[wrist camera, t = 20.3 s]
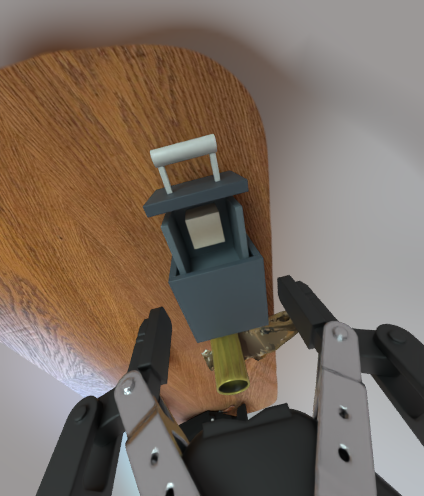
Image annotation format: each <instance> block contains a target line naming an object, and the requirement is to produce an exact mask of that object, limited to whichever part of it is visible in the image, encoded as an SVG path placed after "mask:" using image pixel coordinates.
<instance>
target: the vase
mask: <svg viewBox="0 0 424 496" xmlns="http://www.w3.org/2000/svg"><path fill="white" fill-rule="evenodd" d="M210 341H211V348H212V355H213V362H214V371H215V379H216V388H217V392H218V393H220V394H223V395H234V394H238V393H241V392H243V391H245V390H246V389H247V388H248V387H249V386H250V381H249V377H248V373H247V370H246V366H245V362H244V357H243V353H242V349H241V345H240V341H239V337H238V333H235V334H231V335H227V336H223V337H219V338H215V339H211V340H210Z"/></svg>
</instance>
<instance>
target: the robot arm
mask: <svg viewBox="0 0 424 496" xmlns="http://www.w3.org/2000/svg"><path fill="white" fill-rule="evenodd" d="M277 282H278V296H279V299H280V301H281V303H282V305H283V307H284V308H285V310H286V312H287V314H288V315H289V317H290V319H291V320H292V322H293V324H294V325H295V327H296V329H297V330H298V332H299V334H300V335H301V337H302V339H303V340H304V342H305V344H306V345H307V347H308V349H313V348H315V349H316V351H317V352H318V366H317V377H316V390H315V397H314V406H313V418H312V417H311V416H309V415H307V414H306V413H303V412H301V411H298V410H294V409H289V407H288V404H287V403H285V404H281V405H277V406H272V407H268V408H265V409H264V410H262V411H261V412H260V413H258V414H257V415H255V416H253V417H252V418H250V419H249V420H247V421H240V420H232V419H224V418H222V419H218V420H214V421H210V422H206V423H202V427H203V430H202V431H200V432H199V433H198V434H197V435H196V436H195V437H194V438H193V439H192V441H191V442H189V441H188V439H187V437H186V436H185V434H184V433H183V431H182V430H181V428H180V427H179V426H178V424H177V422H176V421H175V419H174V417H173V415H172V414H171V412H170V410H169V408H168V407H167V405H166V403H165V401H164V399H163V398H162V396H161V394H160V386H161V385H163V384H167V379H168V368H169V357H170V346H171V335H172V323H171V320H170V318H169V316H168V315H167V313H166V311H165V309H164V308H163V307H159V308H155V309H151V311H150V314H149V318H148V319H145V320H144V321H143V323H142V324H141V326H140V328H139V332H138V337H137V339H136V344H135V346H134V350H133V354H132V357H131V361H130V365H129V368H128V371H127V373H126V374H125V375H124V376H123V377H122V378H121V379H120V380H119V382H118V384H117V385H116V387H115V388H113V389H112V390H110V391H109V392H107V393H105V394H104V395H102V396H101V397H99V398H96V397H94V396H87V397H85V398H83V399H82V400H81V401H79V402H78V403H77V404H76V405H75V407H74V408H73V409H72V411H71V412H70V414H69V416H68V418H67V420H66V423H65V425H64V427H63V430H62V433H61V435H60V437H59V440H58V442H57V445H56V447H55V450H54V452H53V454H52V457H51V459H50V462H49V464H48V467H47V469H46V472H45V474H44V477H43V479H42V481H41V484H40V486H39V489H38V491H37V494H36V496H111V495H112V489H113V483H114V478H115V474H116V468H117V463H118V457H119V452H120V447H121V442H122V436H123V433H124V432H125V431H126V434H127V437H128V439H127V441H126V444H125V446H126V451H127V454H128V458H129V461H130V464H131V468H132V470H133V474H134V477H135V480H136V483H137V487H138V490H139V493H140V496H402V495H401V494H399V493H398V492H397V491H396V490H395V489H394V488H393V487H392V486H391V485H389V484H388V483H387V482H386V481H385V480H384V479H383V478H382V477H380V476H379V475H378V474H377V473H376V472H375V470H374V460H373V450H372V441H371V431H370V420H369V410H368V400H367V391H366V387H365V385H364V384H363V383H362V379H361V373H367V374H371V375H372V377H373V378H374V380H375V381H376V382H377V384H378V385H379V387H380V388H381V389H382V390H383V392H384V393H385V395H386V396H387V397H388V399H389V400H390V401H391V403H392V404H393V405H394V407H395V408H396V410H397V411H398V412H399V414H400V415H401V416H402V418H403V419H404V420H405V422H406V423H407V425H408V426H409V427H410V429H411V430H412V431H413V433H414V434H415V435H416V437H417V438H418V439H419V441H420V442H421V444H422V445H423V446H424V345H423V344H422V343H421V342H420V341H419V340H418V339H417V338H415V337H414V336H413V335H412V334H411V333H410V332H408V331H407V330H405V329H403V328H401V327H398V326H395V325H391V324H382V325H380V326H378V328H377V330H363V329H354V328H351V327H349V326H348V325H346V324H344V323H342V322H339V321H338V320H337V319H336V318H335V317H334V316H333V315H332V313H331V312H330V311H329V310H328V309H327V308H326V306H325V305H324V304H323V303H322V302H321V301H320V299H319V298H317V296H316V295H315V294H314V293H313V291H312V290H311V289H310V288H309V287H308V285H306V284H304V283H303V282H301V281H297V282H295V281H294V280H293V278H292V277H291V276H290V275H287V276H283V277H279V278H278V279H277Z"/></svg>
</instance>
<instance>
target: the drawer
mask: <svg viewBox="0 0 424 496" xmlns="http://www.w3.org/2000/svg"><path fill="white" fill-rule="evenodd" d="M215 152H217V145H216V140H215V136H214V134H211V135H207V136H203V137H200V138H196V139H192V140H188V141H185V142H181V143H177V144H173V145H169V146H166V147H162V148H158V149H154V150H151V151H150V154H151V158H152V161H153V163H154V165H155V167H156V168H157V167H158V169H159V172H160V175H161V177H162V180H163V183H164V186H165V188H161V189H158V190H156V191H155V192H154V193H153V194H152V196H151V197H150V198H149V199H148V201H147V202H146V203H145V204H144V206H143V208H144V211H145V213H146V215H147V217H152V216H156V215H159V214H163V213H166V214H165V217H164V219H163V222H162V225H161V229H162V232H163V234H164V236H165V239H166V241H167V244H168V246H169V248H170V251H171V253H172V256H173V258H174V260H175V263H176V265H177V268H178V270H179V272H180V275H182V274H186V273H190V272H194V271H198V270H202V269H206V268H210V267H213V266H217V265H221V264H225V263H229V262H233V261H237V260H241V259H245V258H249V253H248V246H247V238H246V231H245V224H244V216H243V209H242V206H241V205H240V204H239V202H238V201H237V200H236V199H235V198H234V197H233V196H232V195H236V194H240V193H244V192H248V191H249V190H248V181H247V179H246V178H244V177H242V176H240V175H238V174H236V173H234V172H232V171H226V172H222V173H219V170H218V164H217V159H216V154H215ZM207 154H209V156H210V160H211V165H212V170H213V175H211V176H207V177H203V178H200V179H196V180H192V181H188V182H184V183H181V184H177V185H173V186H171V185H170V182H169V179H168V176H167V173H166V170H165V167H164V166H165V165H169V164H173V163H176V162H180V161H184V160H188V159H192V158H195V157H199V156H203V155H207ZM211 203H215V205H216V207H217V209H218V211H219V215H220V220H221V224H222V229H223V234H224V238H225V242H221V243H217V244H213V245H209V246H206V247H202V248H198V249H194V246H193V243H192V240H191V237H190V234H189V231H188V228H187V225H186V222H185V215H186V210H188V209H192V208H196V207H199V206H203V205H207V204H211Z"/></svg>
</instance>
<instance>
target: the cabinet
mask: <svg viewBox="0 0 424 496" xmlns="http://www.w3.org/2000/svg"><path fill="white" fill-rule="evenodd" d="M246 238H247V246H248V253H249V258H245V259H241V260H237V261H233V262H229V263H225V264H221V265H217V266H213V267H210V268H206V269H202V270H198V271H194V272H190V273H186V274H182V275H180V272H179V270H178V268H177V265H176V263H175V260H174V258H173V256H172V261H171V268H170V274H169V281H168V283H169V285H170V287H171V289H172V291H173V293H174V295H175V297H176V299H177V302H178V304H179V306H180V308H181V310H182V312H183V314H184V316H185V318H186V320H187V322H188V325H189V327H190V329H191V331H192V333H193V335H194V337H195V339H196V341H197V343H199V342H203V341H207V340H211V339H215V338H219V337H223V336H227V335H231V334H235V333H239V332H243V331H247V330H251V329H255V328H259V327H263V326H267V325H269V320H268V308H267V296H266V284H265V273H264V261H263V257H262V256H261V254H260V253H259V251H258V250H257V248H256V247H255V245H254V244H253V243H252V241H251V240H250V238H249V237H248V235H247V234H246Z"/></svg>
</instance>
